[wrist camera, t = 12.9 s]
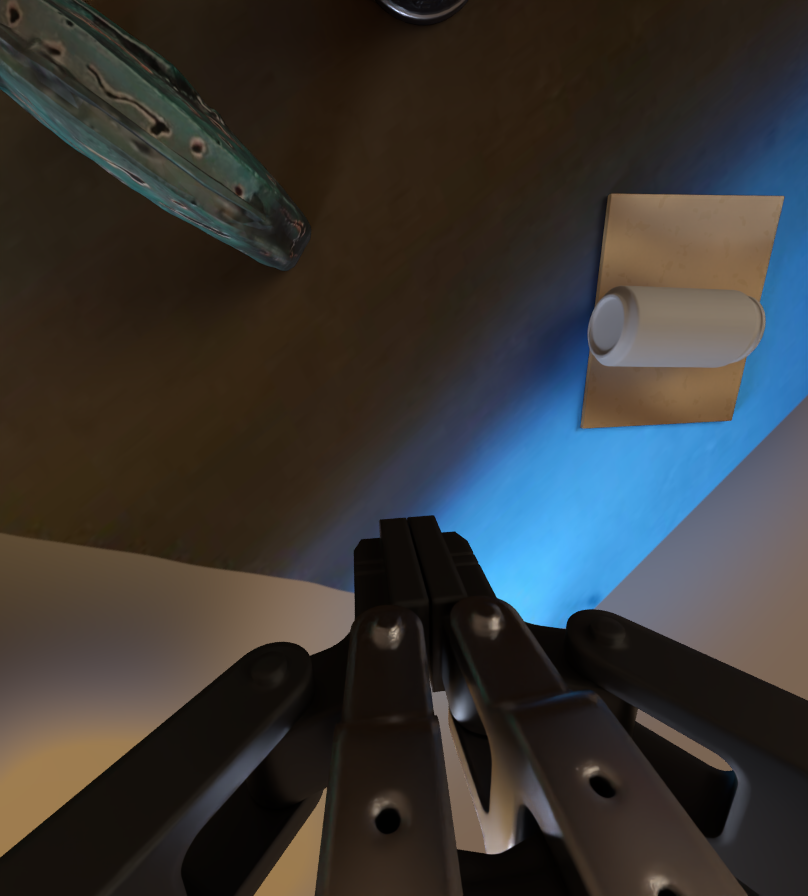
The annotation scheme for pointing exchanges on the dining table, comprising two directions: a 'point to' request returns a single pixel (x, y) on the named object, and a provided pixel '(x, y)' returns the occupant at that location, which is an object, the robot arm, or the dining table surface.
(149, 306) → the dining table surface
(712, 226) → the cork mat
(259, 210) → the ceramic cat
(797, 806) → the robot arm
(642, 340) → the beverage can
